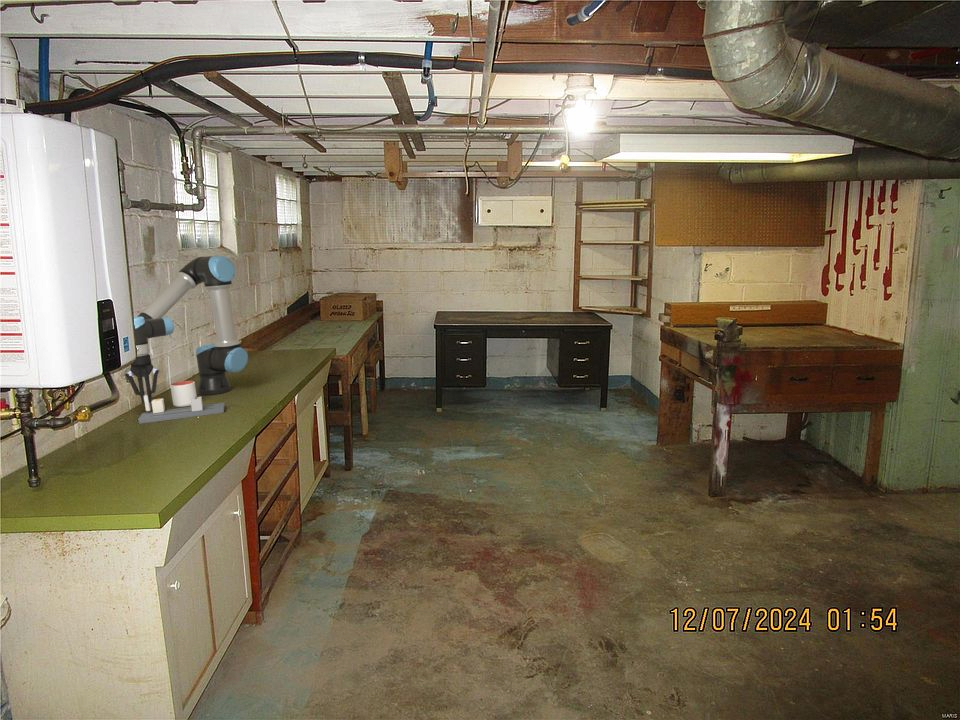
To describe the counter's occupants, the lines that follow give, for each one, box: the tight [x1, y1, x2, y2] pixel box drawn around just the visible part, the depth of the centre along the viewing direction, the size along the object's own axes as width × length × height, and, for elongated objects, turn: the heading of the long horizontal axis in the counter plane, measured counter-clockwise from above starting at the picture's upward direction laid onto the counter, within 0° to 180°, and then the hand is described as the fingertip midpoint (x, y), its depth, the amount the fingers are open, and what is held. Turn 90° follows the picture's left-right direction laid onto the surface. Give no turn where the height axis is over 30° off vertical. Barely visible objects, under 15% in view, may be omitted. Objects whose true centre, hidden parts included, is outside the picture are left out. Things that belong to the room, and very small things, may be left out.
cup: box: [169, 380, 198, 408], centre depth 285 cm, size 10×10×10 cm
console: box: [138, 402, 226, 425], centre depth 268 cm, size 10×32×2 cm, turn 109°
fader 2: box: [190, 396, 204, 412], centre depth 266 cm, size 4×4×5 cm
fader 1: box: [151, 397, 166, 413], centre depth 267 cm, size 4×4×5 cm
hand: (148, 410), depth 266 cm, fingers closed
